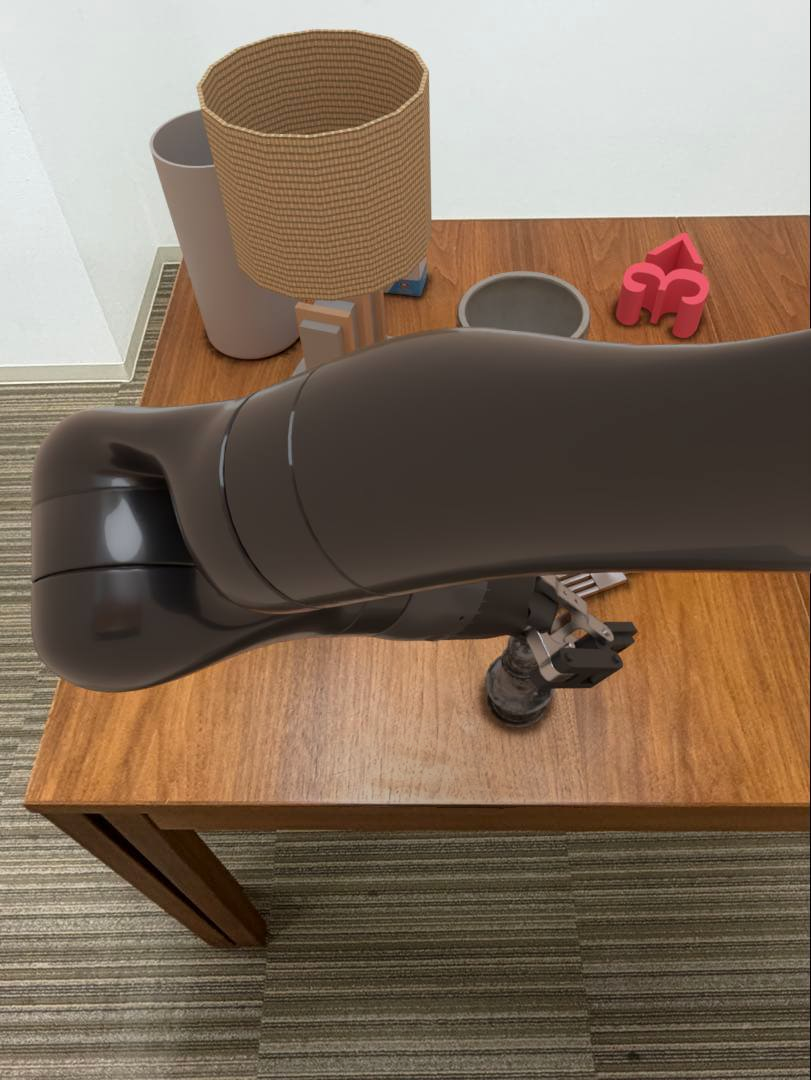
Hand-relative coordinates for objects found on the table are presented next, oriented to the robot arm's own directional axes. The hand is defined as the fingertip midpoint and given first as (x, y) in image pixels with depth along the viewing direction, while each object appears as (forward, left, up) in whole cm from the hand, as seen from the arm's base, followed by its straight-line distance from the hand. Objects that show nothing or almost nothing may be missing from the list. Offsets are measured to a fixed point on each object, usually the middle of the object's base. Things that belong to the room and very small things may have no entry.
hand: (592, 579), depth 53 cm
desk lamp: (+38, -26, -21) cm, 50 cm away
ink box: (+44, -46, -21) cm, 67 cm away
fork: (0, -17, -21) cm, 27 cm away
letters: (+11, -59, -21) cm, 64 cm away
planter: (+20, -33, -21) cm, 44 cm away
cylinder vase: (+55, -30, -21) cm, 66 cm away
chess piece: (+4, +1, -21) cm, 21 cm away
